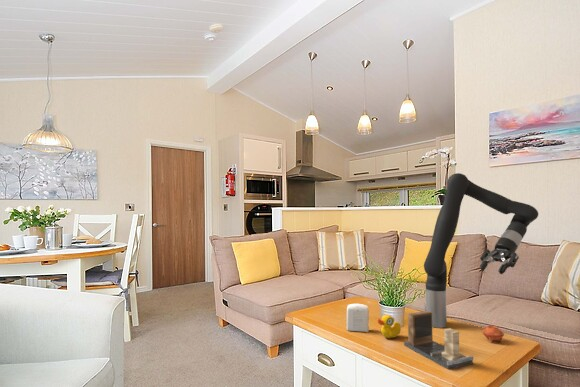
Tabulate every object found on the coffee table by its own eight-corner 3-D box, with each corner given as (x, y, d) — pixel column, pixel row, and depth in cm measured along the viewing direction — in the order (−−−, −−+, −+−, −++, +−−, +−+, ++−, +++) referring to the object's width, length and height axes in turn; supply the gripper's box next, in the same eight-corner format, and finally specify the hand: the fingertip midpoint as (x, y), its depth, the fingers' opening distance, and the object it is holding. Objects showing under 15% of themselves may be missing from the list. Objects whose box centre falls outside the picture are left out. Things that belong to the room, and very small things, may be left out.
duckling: (381, 341, 148) (381, 318, 148) (374, 337, 153) (374, 314, 153) (403, 338, 151) (403, 315, 152) (396, 334, 157) (395, 311, 157)
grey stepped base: (404, 345, 143) (404, 338, 144) (426, 341, 148) (426, 334, 148) (448, 369, 122) (448, 362, 122) (473, 364, 126) (473, 356, 126)
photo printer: (368, 329, 163) (368, 303, 163) (369, 332, 158) (369, 305, 159) (346, 328, 164) (346, 302, 165) (346, 331, 160) (346, 304, 161)
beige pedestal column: (441, 356, 129) (441, 329, 130) (451, 354, 131) (451, 327, 132) (452, 361, 125) (451, 333, 125) (462, 359, 127) (461, 331, 127)
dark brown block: (408, 342, 142) (407, 313, 143) (427, 339, 146) (426, 310, 147) (414, 345, 139) (413, 315, 140) (433, 342, 143) (432, 313, 143)
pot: (503, 345, 142) (498, 328, 143) (483, 345, 147) (478, 329, 149) (507, 339, 148) (502, 323, 149) (488, 339, 153) (483, 323, 154)
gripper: (489, 235, 156) (471, 262, 151) (520, 238, 142) (501, 267, 138) (497, 246, 157) (480, 274, 153) (529, 250, 144) (511, 280, 139)
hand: (490, 271), depth 145 cm, fingers open, 8 cm apart
